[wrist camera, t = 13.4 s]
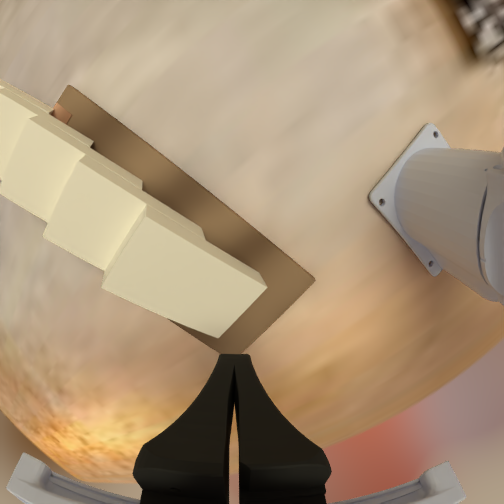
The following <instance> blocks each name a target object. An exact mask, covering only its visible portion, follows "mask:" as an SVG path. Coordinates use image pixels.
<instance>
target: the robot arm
mask: <svg viewBox="0 0 504 504" xmlns="http://www.w3.org/2000/svg"><path fill="white" fill-rule="evenodd" d="M433 133H435V137H434V135H433ZM369 199H370V201H371V202H372V204H373V205H374V206H375V207H376V208H377V209H378V210H379V211H380V212H381V214H382V215H383V216H384V217H385V218H386V219H387V221H388V222H389V223H390V224H391V225H392V226H393V228H394V229H395V230H396V231H397V232H398V233H399V235H400V236H401V237H402V238H403V240H404V241H405V242H406V243H407V245H408V246H409V247H410V248H411V250H412V251H413V252H414V253H415V255H416V256H417V257H418V258H419V260H420V261H421V262H422V264H423V265H424V266H425V268H426V269H427V270H428V272H429V273H430V274H431V275H432V276H434V277H435V276H437V275H438V274H439V273H440V272H441V271H442V269H443V270H445V271H446V272H448V273H449V274H451V275H452V276H454V277H455V278H457V279H458V280H459V281H461V282H462V283H464V284H465V285H466V286H468V287H469V288H471V289H472V290H473V291H475V292H476V293H478V294H479V295H480V296H482V297H483V298H485V299H487V300H490V301H495V302H500V303H501V304H502V305H504V148H503V149H502V151H501V152H493V151H482V150H470V149H455V148H450V146H449V145H448V143H447V142H446V140H445V139H444V137H443V136H442V135H441V133H440V132H439V130H438V129H437V128H436V126H435V125H434V124H433V123H427V124H425V126H424V127H423V128H422V130H421V131H420V132H419V133H418V135H417V136H416V137H415V138H414V140H413V141H412V142H411V144H410V145H409V146H408V147H407V149H406V150H405V151H404V152H403V153H402V155H401V156H400V157H399V158H398V160H397V161H396V162H395V163H394V164H393V166H392V167H391V168H390V169H389V171H388V172H387V173H386V174H385V175H384V177H383V178H382V179H381V180H380V181H379V183H378V184H377V185H376V186H375V187H374V188H373V190H372V191H371V192H370V194H369ZM380 199H382V200H383V203H382V204H381V205H379V200H380ZM430 261H431V263H430V264H429V262H430ZM234 403H235V413H236V422H237V432H238V442H239V504H327V503H326V499H325V493H326V489H325V483H326V481H327V480H328V478H329V477H330V475H331V472H332V471H331V467H330V464H329V461H328V459H327V457H326V455H325V453H324V451H323V450H322V448H320V447H319V446H317V445H316V444H314V443H313V442H312V441H310V440H309V439H308V438H306V437H305V436H304V435H303V434H301V433H300V432H299V431H298V430H297V429H296V428H295V427H294V426H293V425H292V424H291V423H290V422H289V421H288V420H287V419H286V418H285V417H284V416H283V415H282V414H281V412H280V411H279V410H278V409H277V407H276V406H275V405H274V403H273V402H272V401H271V399H270V398H269V396H268V395H267V393H266V391H265V390H264V388H263V386H262V384H261V383H260V381H259V379H258V377H257V375H256V372H255V370H254V368H253V365H252V362H251V358H250V356H249V355H248V354H221V355H219V358H218V361H217V364H216V366H215V368H214V370H213V372H212V374H211V376H210V378H209V380H208V381H207V383H206V385H205V386H204V388H203V389H202V391H201V392H200V394H199V395H198V396H197V398H196V399H195V400H194V402H193V403H192V404H191V405H190V406H189V408H188V409H187V410H186V411H185V412H184V413H183V414H182V415H181V416H180V417H179V418H178V419H177V420H176V421H175V422H174V423H173V424H171V425H170V426H169V427H168V428H167V429H165V430H164V431H163V432H162V433H160V434H159V435H158V436H156V437H155V438H153V439H152V440H150V441H148V442H147V443H145V444H144V445H143V447H142V448H141V450H140V452H139V454H138V457H137V459H136V462H135V466H134V470H133V476H134V478H135V480H136V481H137V482H138V484H139V485H140V487H141V488H142V489H143V490H142V495H141V500H138V499H133V498H129V497H125V496H122V495H118V494H114V493H111V492H107V491H104V490H101V489H97V488H94V487H92V486H89V485H86V484H83V483H80V482H77V481H75V480H72V479H70V478H67V477H65V476H62V475H60V474H57V473H55V472H53V471H51V469H50V468H49V467H48V466H47V465H46V464H45V463H44V462H42V461H40V460H39V459H36V458H34V457H32V456H30V455H28V454H26V453H23V454H22V456H21V458H20V460H19V462H18V464H17V466H16V468H15V470H14V472H13V474H12V476H11V478H10V481H9V483H8V485H7V487H6V488H7V490H8V491H10V492H11V493H12V494H13V495H14V496H16V497H17V498H18V499H19V500H21V501H22V502H23V503H25V504H229V444H230V434H231V426H232V418H233V410H234ZM465 498H466V495H465V493H464V491H463V488H462V486H461V484H460V482H459V481H458V479H457V477H456V475H455V473H454V471H453V469H452V467H451V465H450V463H449V461H446V462H444V463H441V464H439V465H437V466H435V467H432V468H430V469H428V470H427V471H425V472H424V473H423V474H422V475H421V476H420V477H419V478H418V479H416V480H413V481H410V482H408V483H405V484H402V485H399V486H396V487H393V488H390V489H387V490H384V491H380V492H377V493H373V494H370V495H366V496H362V497H358V498H354V499H349V500H345V501H340V502H335V503H329V504H459V503H460V502H461V501H463V500H464V499H465Z"/></svg>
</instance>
